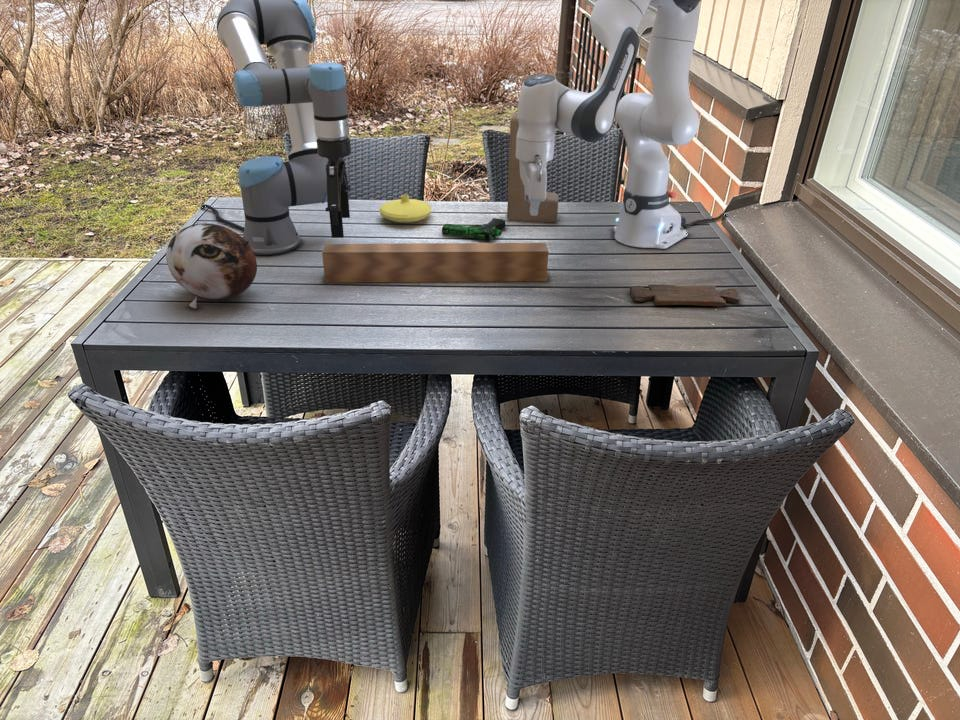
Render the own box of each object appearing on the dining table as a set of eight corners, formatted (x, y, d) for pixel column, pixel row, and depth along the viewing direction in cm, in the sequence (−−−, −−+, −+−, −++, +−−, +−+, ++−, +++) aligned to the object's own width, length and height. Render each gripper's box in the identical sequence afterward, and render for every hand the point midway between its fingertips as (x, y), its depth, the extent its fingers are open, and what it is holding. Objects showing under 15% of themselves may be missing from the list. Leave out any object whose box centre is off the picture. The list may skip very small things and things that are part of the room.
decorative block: (556, 223, 215) (563, 120, 199) (506, 220, 216) (510, 118, 201) (557, 215, 221) (564, 114, 206) (509, 212, 223) (512, 112, 207)
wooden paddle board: (744, 309, 167) (732, 291, 176) (746, 303, 166) (734, 285, 175) (634, 305, 167) (627, 287, 176) (635, 299, 167) (628, 281, 175)
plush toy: (130, 285, 161) (164, 203, 163) (192, 308, 177) (221, 233, 178) (195, 307, 151) (229, 220, 152) (254, 330, 166) (285, 250, 168)
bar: (325, 282, 177) (322, 252, 172) (328, 273, 181) (325, 243, 177) (546, 281, 179) (548, 251, 175) (543, 272, 184) (545, 242, 180)
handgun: (511, 219, 210) (493, 234, 198) (511, 228, 211) (492, 244, 199) (461, 212, 215) (440, 226, 203) (461, 221, 217) (440, 236, 204)
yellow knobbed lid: (403, 206, 226) (402, 184, 222) (442, 217, 218) (442, 194, 215) (368, 220, 215) (367, 197, 211) (408, 231, 207) (407, 208, 203)
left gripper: (343, 151, 151) (351, 246, 162) (355, 124, 172) (361, 209, 183) (307, 151, 151) (318, 246, 161) (323, 124, 172) (332, 209, 183)
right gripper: (555, 162, 157) (550, 222, 164) (542, 140, 174) (538, 195, 181) (526, 162, 156) (523, 222, 163) (516, 139, 174) (513, 195, 181)
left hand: (341, 227), depth 172 cm, fingers open, 13 cm apart
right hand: (531, 208), depth 172 cm, fingers open, 8 cm apart
